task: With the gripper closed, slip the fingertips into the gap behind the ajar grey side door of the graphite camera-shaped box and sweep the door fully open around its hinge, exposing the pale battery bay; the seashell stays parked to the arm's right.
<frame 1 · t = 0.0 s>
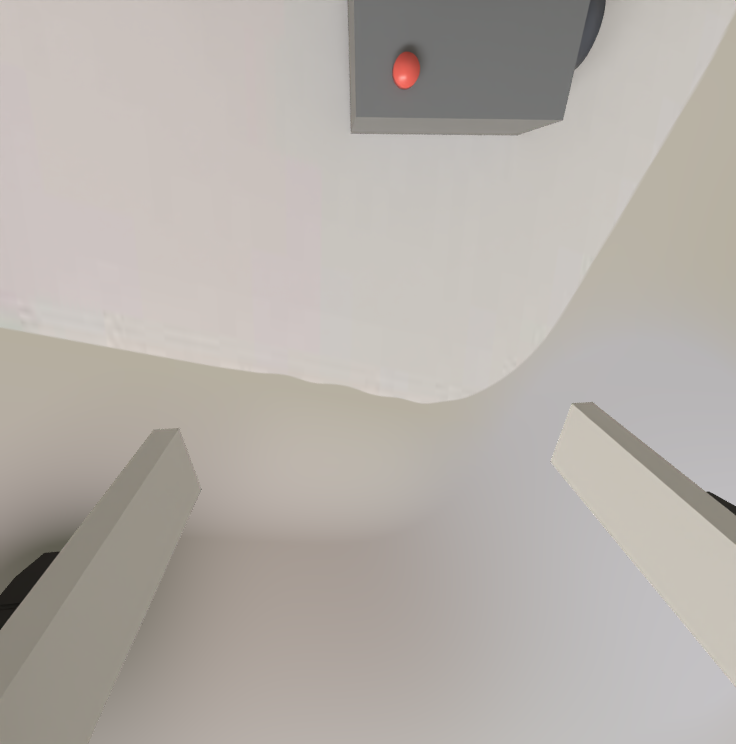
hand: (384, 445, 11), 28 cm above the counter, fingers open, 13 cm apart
camera body: (441, 63, 28), on the counter
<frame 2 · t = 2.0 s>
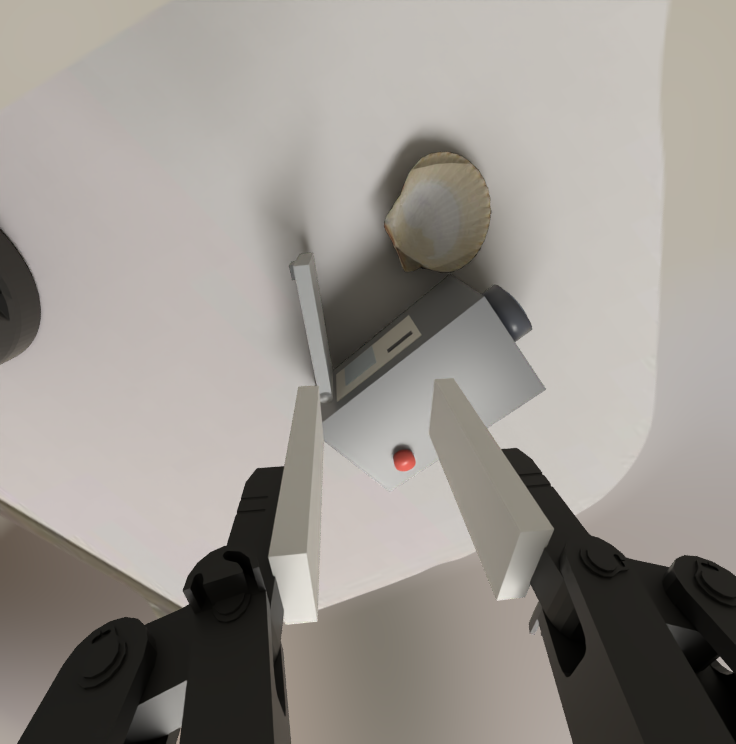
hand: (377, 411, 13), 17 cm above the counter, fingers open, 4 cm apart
side door: (313, 329, 25), point 3 cm above the counter, hinge at 55.0°
seashell: (432, 217, 25), on the counter
camera body: (410, 368, 31), on the counter
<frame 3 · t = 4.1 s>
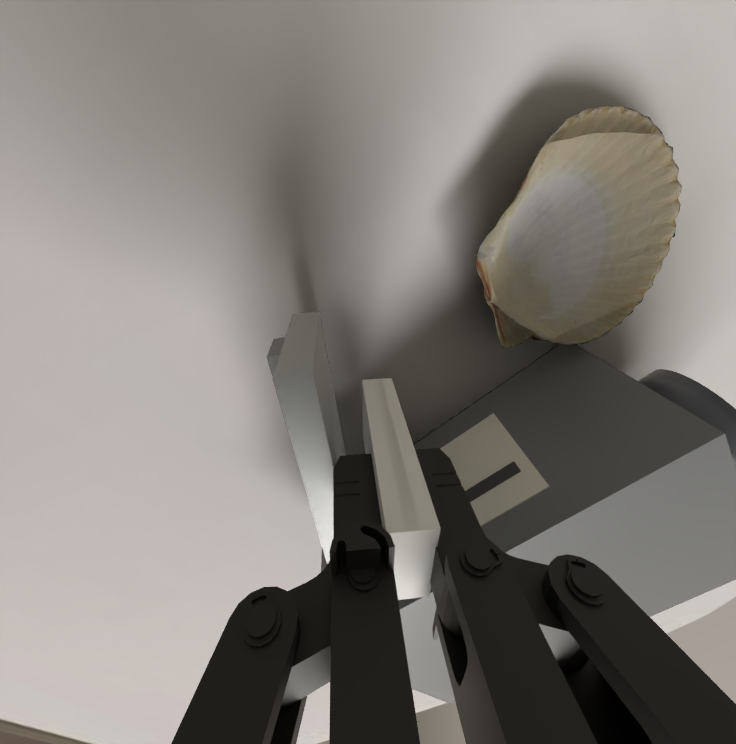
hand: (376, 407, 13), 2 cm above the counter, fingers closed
side door: (322, 460, 13), point 4 cm above the counter, hinge at 56.4°, touching gripper
seashell: (549, 241, 13), on the counter
camera body: (477, 479, 19), on the counter
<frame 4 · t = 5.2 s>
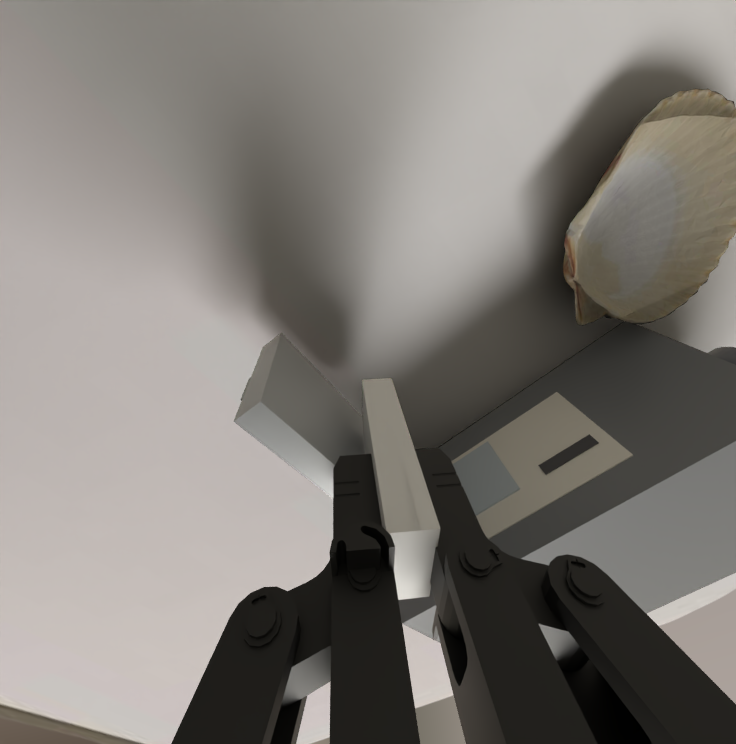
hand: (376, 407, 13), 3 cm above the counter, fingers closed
side door: (351, 458, 13), point 3 cm above the counter, hinge at 86.7°, touching gripper
seashell: (618, 223, 14), on the counter
camera body: (526, 460, 20), on the counter
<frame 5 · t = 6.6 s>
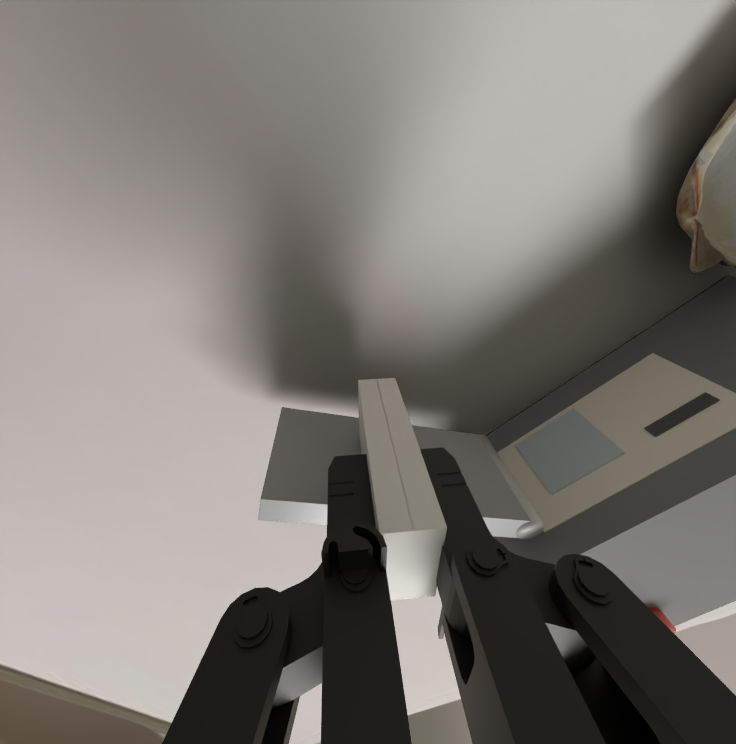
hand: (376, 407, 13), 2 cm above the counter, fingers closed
side door: (399, 472, 14), point 3 cm above the counter, hinge at 125.4°
seashell: (732, 162, 13), on the counter
camera body: (601, 434, 19), on the counter
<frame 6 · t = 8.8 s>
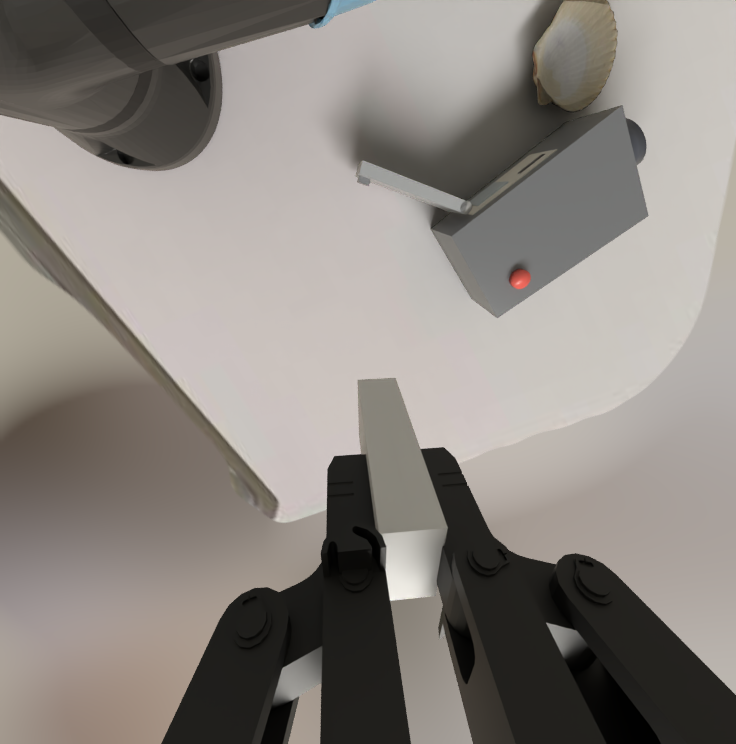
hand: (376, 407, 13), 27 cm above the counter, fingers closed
side door: (411, 192, 30), point 4 cm above the counter, hinge at 125.4°
seashell: (561, 63, 30), on the counter
camera body: (513, 220, 36), on the counter
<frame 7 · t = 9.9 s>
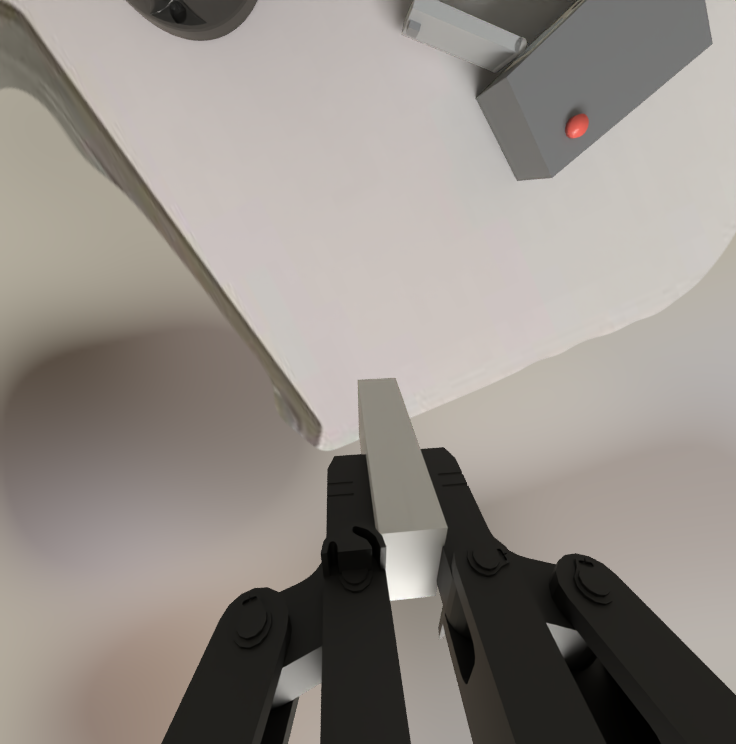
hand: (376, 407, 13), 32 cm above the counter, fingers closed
side door: (461, 40, 30), point 3 cm above the counter, hinge at 125.4°
camera body: (561, 84, 35), on the counter
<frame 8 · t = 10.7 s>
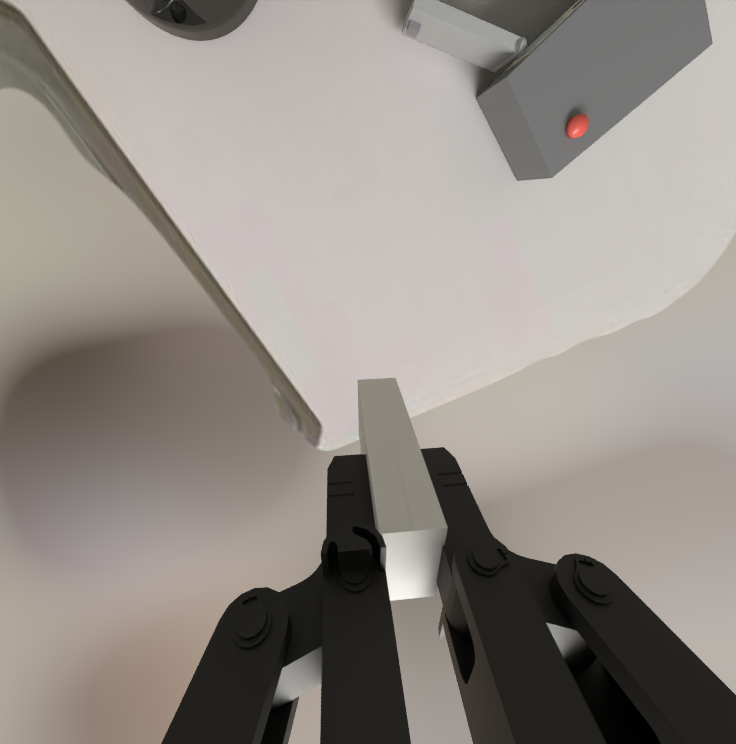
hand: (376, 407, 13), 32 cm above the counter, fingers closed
side door: (461, 40, 30), point 3 cm above the counter, hinge at 125.4°
camera body: (561, 84, 35), on the counter
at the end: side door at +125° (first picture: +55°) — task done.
